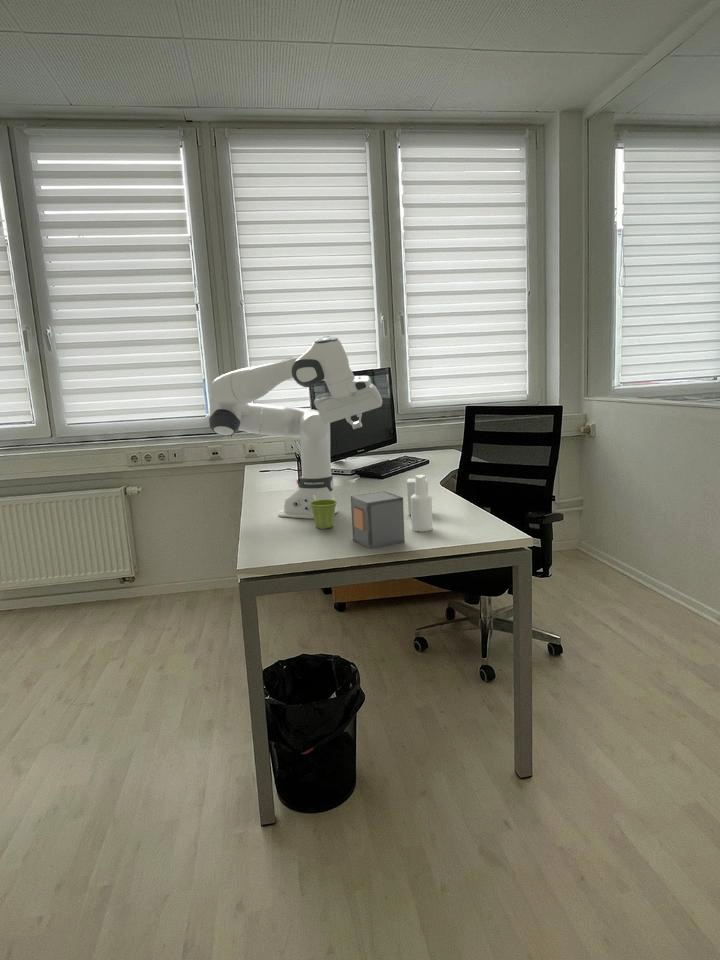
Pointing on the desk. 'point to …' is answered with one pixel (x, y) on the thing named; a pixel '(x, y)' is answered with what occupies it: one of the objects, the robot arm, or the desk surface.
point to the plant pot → (323, 513)
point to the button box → (379, 519)
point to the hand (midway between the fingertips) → (357, 427)
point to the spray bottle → (421, 506)
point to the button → (359, 518)
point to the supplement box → (411, 491)
